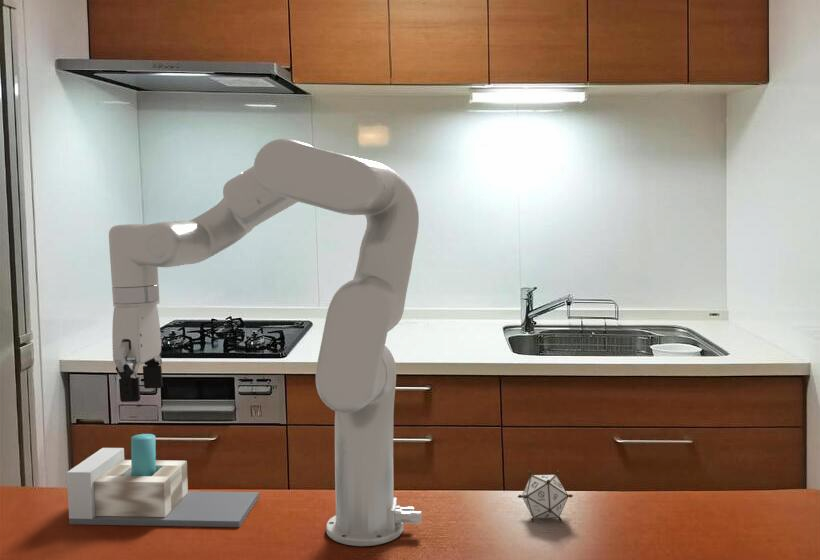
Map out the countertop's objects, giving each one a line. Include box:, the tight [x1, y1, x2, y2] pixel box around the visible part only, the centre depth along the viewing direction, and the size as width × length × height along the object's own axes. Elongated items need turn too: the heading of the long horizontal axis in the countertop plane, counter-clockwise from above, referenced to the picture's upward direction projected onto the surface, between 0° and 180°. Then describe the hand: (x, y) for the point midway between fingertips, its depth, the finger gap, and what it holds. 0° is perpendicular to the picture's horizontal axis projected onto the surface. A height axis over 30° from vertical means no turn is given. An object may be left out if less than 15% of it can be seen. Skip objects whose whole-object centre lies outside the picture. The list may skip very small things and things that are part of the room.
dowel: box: [130, 433, 157, 476], centre depth 131 cm, size 4×4×12 cm
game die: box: [517, 470, 574, 523], centre depth 127 cm, size 9×8×10 cm
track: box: [66, 447, 260, 528], centre depth 131 cm, size 29×13×9 cm, turn 87°
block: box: [94, 459, 189, 517], centre depth 131 cm, size 12×11×6 cm
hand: (142, 394), depth 130 cm, fingers open, 9 cm apart
